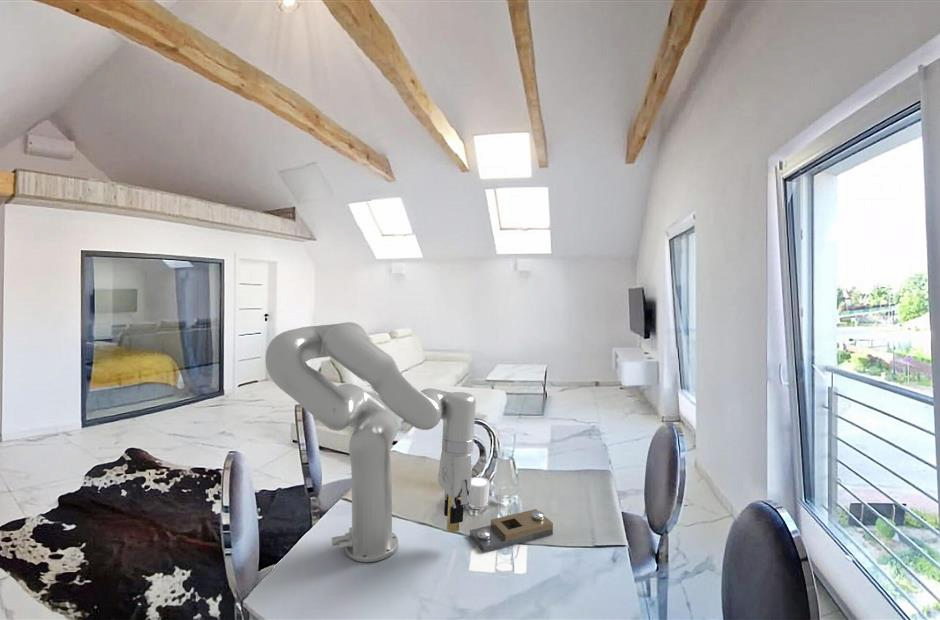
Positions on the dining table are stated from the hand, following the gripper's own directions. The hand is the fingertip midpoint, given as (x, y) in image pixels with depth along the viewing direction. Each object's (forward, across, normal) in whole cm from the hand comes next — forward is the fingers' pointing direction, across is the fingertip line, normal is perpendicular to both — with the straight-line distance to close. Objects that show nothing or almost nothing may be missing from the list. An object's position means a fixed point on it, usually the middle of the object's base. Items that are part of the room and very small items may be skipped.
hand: (453, 517), depth 108 cm
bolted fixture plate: (+7, +1, +16) cm, 18 cm away
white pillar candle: (+8, -17, +15) cm, 24 cm away
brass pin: (+3, 0, 0) cm, 3 cm away
